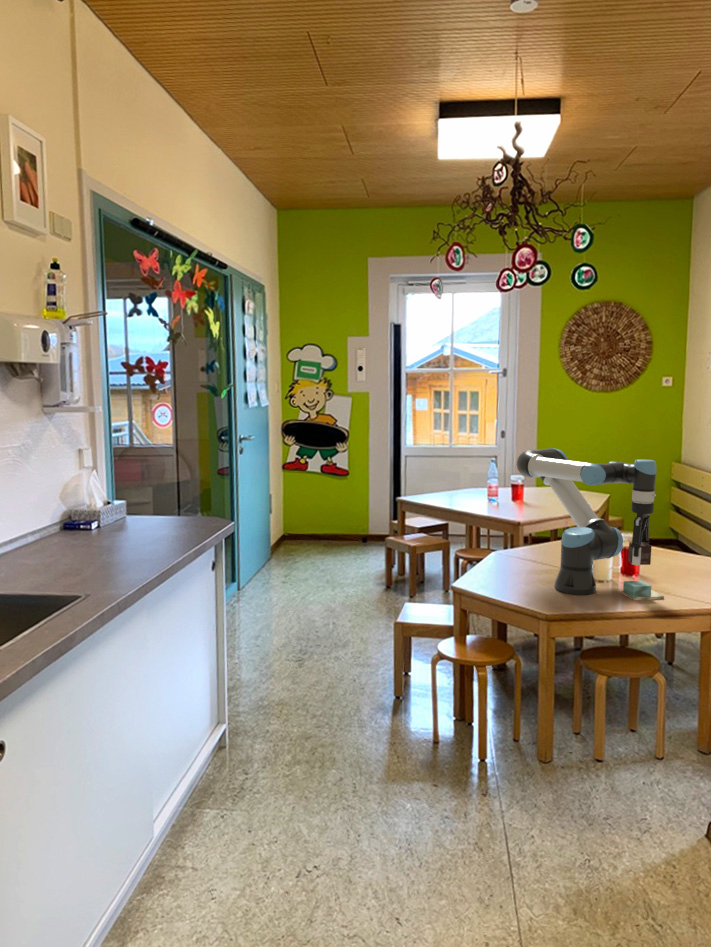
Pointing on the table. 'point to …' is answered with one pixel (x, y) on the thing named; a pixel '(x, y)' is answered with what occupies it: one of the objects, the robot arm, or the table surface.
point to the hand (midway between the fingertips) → (639, 562)
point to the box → (644, 553)
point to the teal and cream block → (639, 591)
